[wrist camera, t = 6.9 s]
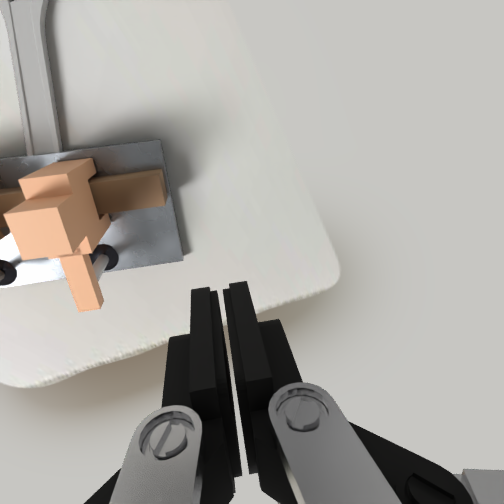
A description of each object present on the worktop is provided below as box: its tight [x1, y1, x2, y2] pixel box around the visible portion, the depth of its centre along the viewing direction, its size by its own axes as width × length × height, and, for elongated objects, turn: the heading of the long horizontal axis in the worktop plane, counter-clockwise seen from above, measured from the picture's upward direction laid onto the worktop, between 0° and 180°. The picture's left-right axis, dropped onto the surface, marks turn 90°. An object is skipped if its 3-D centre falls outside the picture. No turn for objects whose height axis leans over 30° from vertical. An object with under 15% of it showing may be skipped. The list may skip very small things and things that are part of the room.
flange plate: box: [0, 139, 184, 288], centre depth 31 cm, size 11×18×1 cm, turn 95°
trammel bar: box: [0, 169, 168, 281], centre depth 26 cm, size 10×18×10 cm, turn 95°
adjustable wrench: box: [0, 0, 63, 156], centre depth 27 cm, size 25×6×2 cm, turn 171°
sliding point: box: [3, 158, 111, 312], centre depth 26 cm, size 10×3×9 cm, turn 5°
